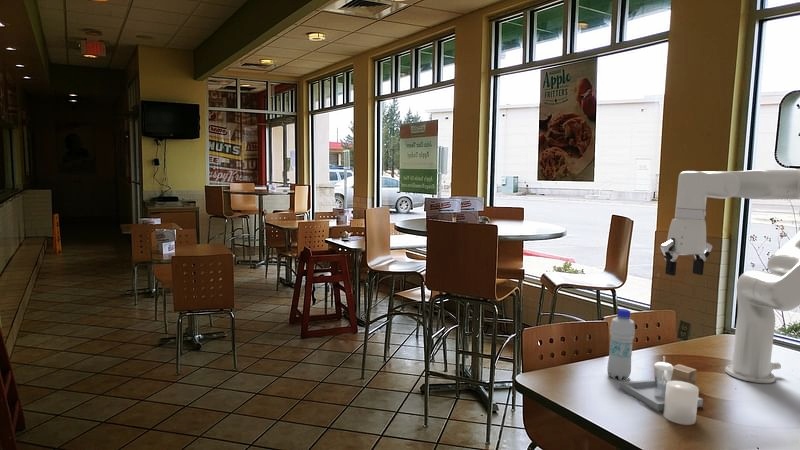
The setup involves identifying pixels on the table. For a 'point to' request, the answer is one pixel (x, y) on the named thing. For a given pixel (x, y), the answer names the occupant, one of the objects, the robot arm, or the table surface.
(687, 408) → the white squat cylinder
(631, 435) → the table surface
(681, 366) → the walnut block
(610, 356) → the bottle
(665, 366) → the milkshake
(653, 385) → the tray
